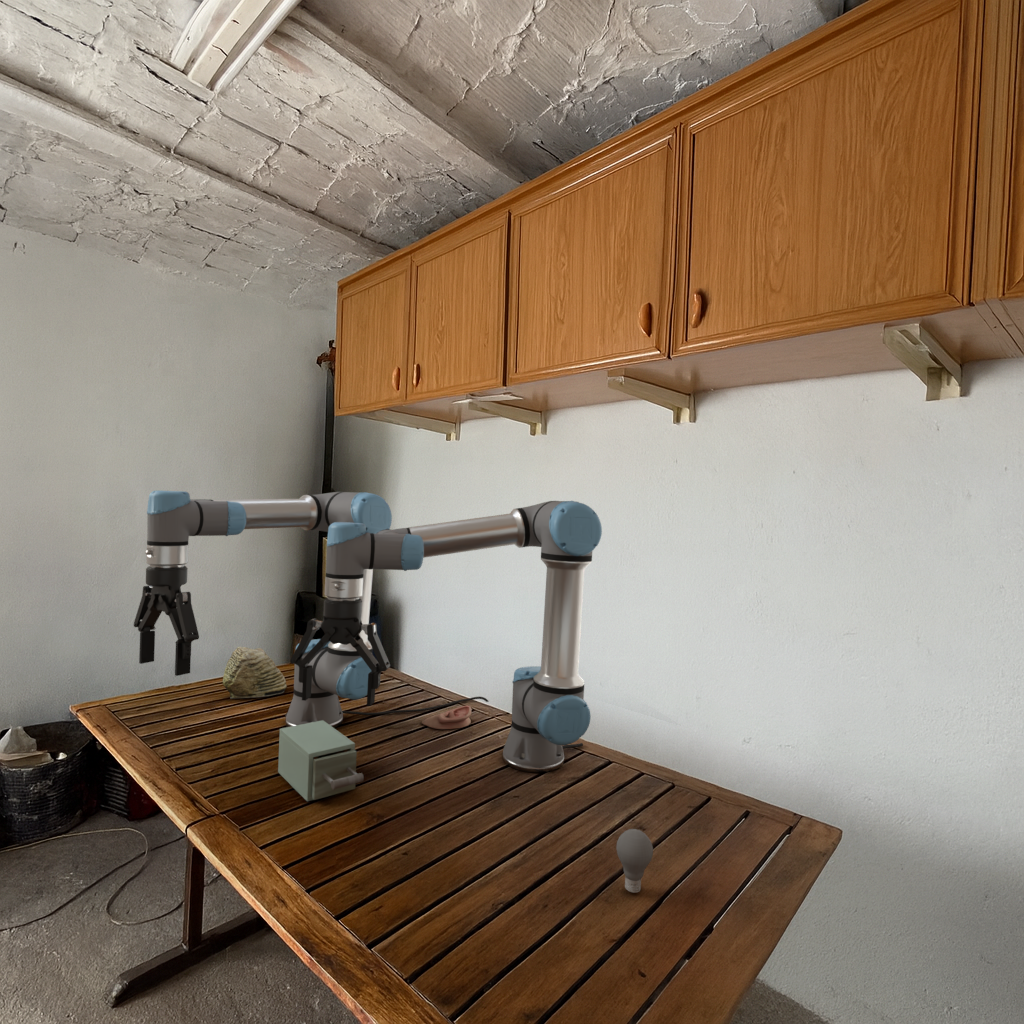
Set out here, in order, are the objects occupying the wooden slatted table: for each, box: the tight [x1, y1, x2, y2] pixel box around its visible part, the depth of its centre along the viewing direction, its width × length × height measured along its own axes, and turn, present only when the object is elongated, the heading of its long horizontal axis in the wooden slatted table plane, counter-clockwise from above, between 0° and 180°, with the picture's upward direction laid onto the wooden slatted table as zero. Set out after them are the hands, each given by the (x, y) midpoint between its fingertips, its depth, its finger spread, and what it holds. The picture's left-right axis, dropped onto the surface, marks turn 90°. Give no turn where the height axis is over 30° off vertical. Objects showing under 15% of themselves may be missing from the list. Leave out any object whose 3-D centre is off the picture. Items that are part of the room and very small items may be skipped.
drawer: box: [312, 749, 364, 801], centre depth 137 cm, size 22×9×8 cm, turn 40°
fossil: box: [222, 646, 288, 699], centre depth 198 cm, size 9×18×15 cm, turn 132°
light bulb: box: [615, 828, 654, 894], centre depth 106 cm, size 6×6×10 cm
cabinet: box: [277, 720, 356, 802], centre depth 141 cm, size 17×10×10 cm, turn 40°
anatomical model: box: [421, 705, 472, 730], centre depth 181 cm, size 13×4×12 cm
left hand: (164, 668), depth 131 cm, fingers open, 13 cm apart
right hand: (338, 701), depth 130 cm, fingers open, 13 cm apart
